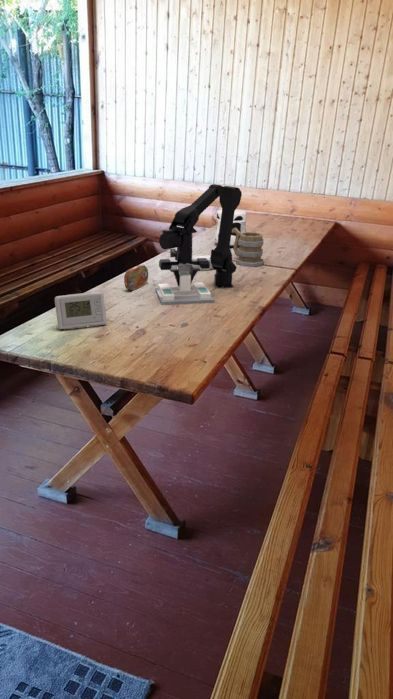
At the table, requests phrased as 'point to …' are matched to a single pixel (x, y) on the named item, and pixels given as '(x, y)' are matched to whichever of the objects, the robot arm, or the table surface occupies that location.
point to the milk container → (238, 223)
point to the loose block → (184, 269)
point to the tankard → (248, 248)
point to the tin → (136, 277)
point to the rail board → (183, 294)
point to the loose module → (184, 281)
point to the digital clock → (80, 310)
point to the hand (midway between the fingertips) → (184, 285)
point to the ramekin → (194, 257)
